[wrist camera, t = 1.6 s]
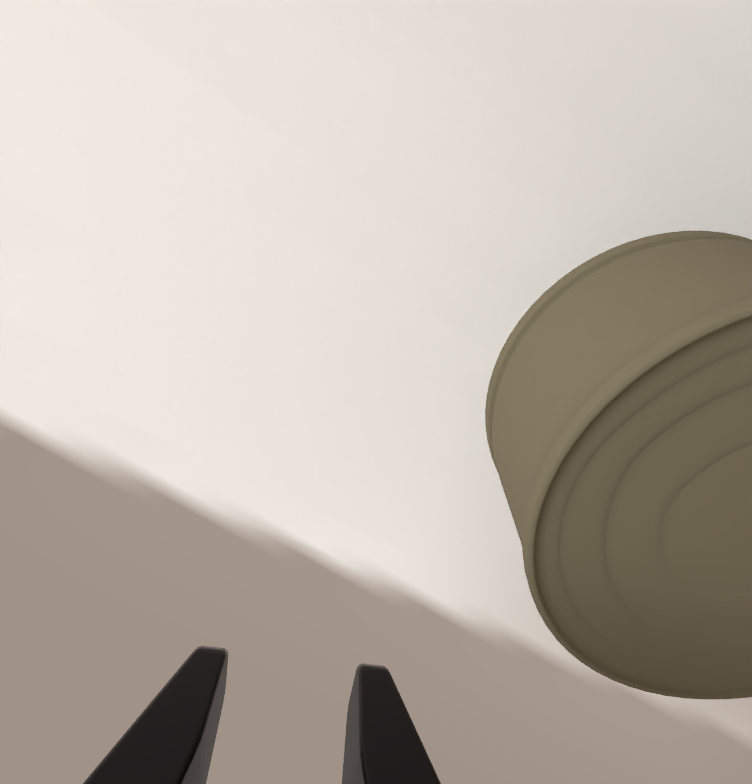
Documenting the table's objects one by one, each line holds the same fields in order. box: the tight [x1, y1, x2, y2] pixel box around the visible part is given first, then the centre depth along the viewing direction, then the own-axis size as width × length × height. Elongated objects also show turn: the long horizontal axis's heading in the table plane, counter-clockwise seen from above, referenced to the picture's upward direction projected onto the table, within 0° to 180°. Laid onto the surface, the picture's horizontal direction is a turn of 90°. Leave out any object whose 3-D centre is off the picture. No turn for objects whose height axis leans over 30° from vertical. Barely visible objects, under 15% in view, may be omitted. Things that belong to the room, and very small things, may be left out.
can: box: [485, 231, 752, 699], centre depth 17 cm, size 12×12×7 cm
